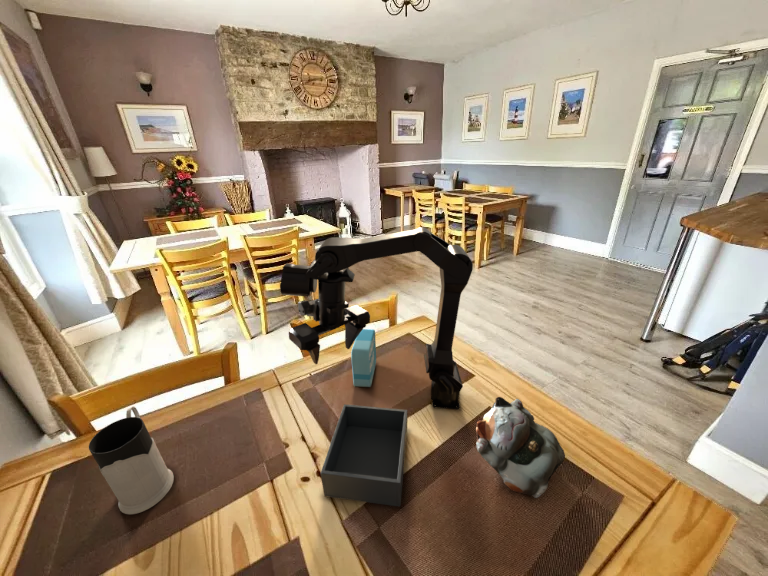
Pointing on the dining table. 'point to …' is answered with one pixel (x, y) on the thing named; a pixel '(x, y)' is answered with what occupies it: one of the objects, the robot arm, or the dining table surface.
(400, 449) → the dark grey open box
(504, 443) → the lucky cat figurine
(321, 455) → the dining table surface
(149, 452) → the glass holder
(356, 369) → the light blue flat block
